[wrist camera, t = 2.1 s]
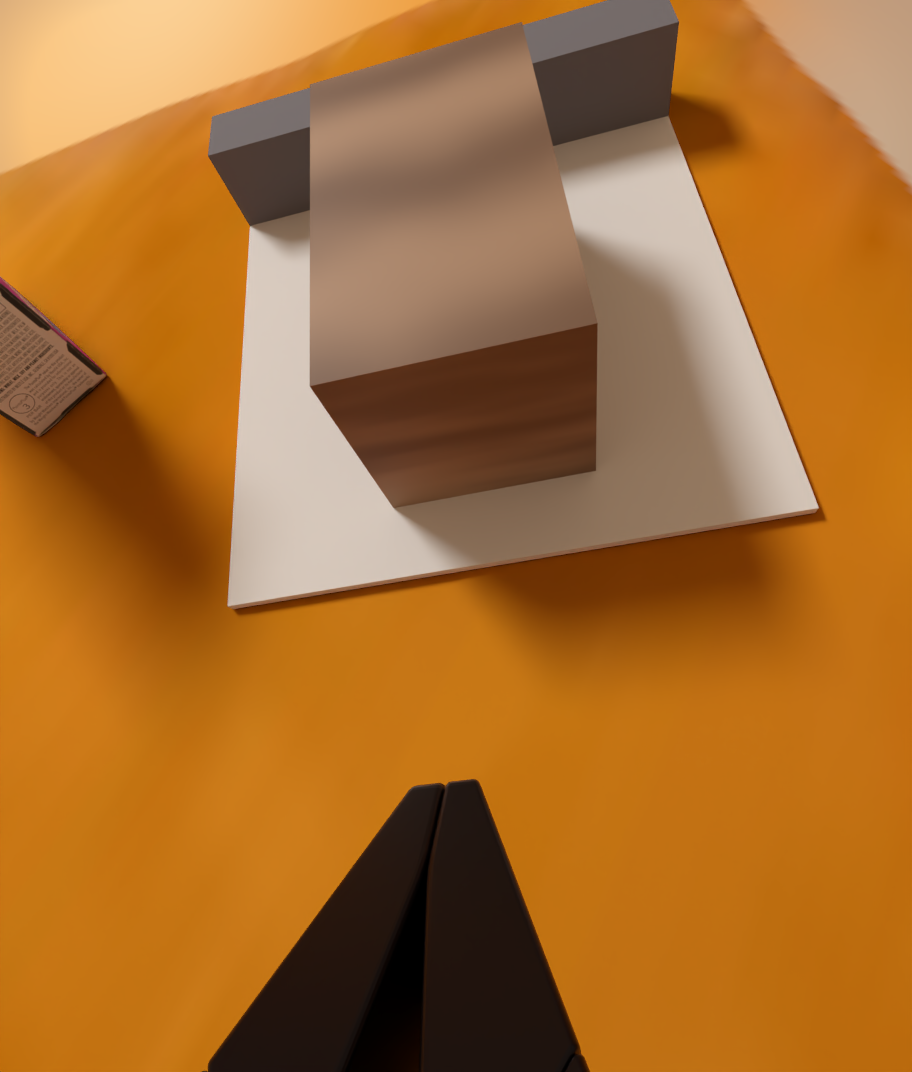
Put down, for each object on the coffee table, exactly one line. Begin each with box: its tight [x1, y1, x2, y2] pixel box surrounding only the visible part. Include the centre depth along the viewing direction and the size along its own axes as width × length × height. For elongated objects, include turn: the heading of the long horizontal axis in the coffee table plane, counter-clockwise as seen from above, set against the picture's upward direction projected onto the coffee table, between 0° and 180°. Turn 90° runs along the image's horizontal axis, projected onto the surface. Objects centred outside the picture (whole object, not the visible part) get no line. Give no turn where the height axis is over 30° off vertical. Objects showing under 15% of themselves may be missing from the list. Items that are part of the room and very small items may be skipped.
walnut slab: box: [310, 22, 598, 508], centre depth 23 cm, size 14×8×8 cm, turn 6°
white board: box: [208, 0, 819, 609], centre depth 26 cm, size 25×22×4 cm
